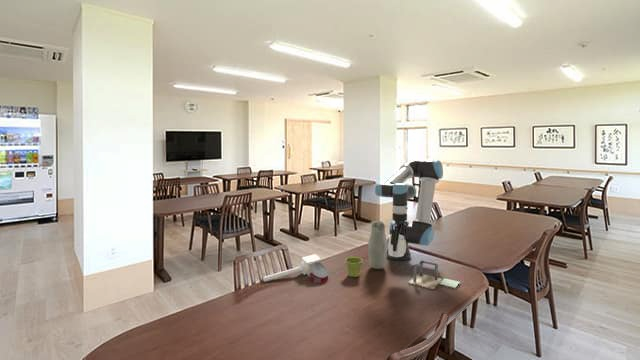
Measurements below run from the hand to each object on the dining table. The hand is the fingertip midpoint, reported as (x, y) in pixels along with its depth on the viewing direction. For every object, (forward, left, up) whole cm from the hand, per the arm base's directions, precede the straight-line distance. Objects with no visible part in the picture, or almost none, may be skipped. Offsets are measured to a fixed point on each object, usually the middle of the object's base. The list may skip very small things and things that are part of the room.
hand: (399, 254), depth 181 cm
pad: (+24, +8, -13) cm, 29 cm away
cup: (0, -1, 0) cm, 1 cm away
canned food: (-34, -27, -14) cm, 45 cm away
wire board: (+13, +4, -13) cm, 19 cm away
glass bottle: (-16, +6, -13) cm, 22 cm away
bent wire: (+13, +4, -12) cm, 19 cm away
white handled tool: (-48, -33, -14) cm, 60 cm away
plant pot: (-22, -11, -13) cm, 28 cm away
